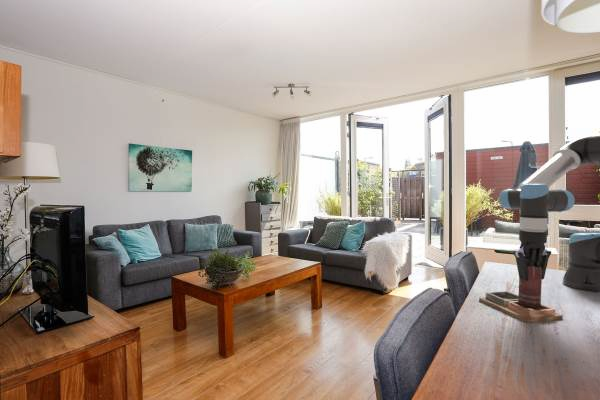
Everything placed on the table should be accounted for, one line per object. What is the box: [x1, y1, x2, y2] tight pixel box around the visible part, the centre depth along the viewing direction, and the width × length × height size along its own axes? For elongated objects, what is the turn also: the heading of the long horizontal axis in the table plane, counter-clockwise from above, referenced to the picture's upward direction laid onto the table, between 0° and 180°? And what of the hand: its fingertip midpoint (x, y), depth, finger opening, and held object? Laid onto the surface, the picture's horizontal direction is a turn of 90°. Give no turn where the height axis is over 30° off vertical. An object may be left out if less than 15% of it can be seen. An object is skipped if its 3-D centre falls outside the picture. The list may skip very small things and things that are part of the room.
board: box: [478, 290, 564, 324], centre depth 113 cm, size 14×20×3 cm
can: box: [518, 266, 543, 309], centre depth 108 cm, size 6×6×14 cm
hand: (530, 300), depth 107 cm, fingers closed
